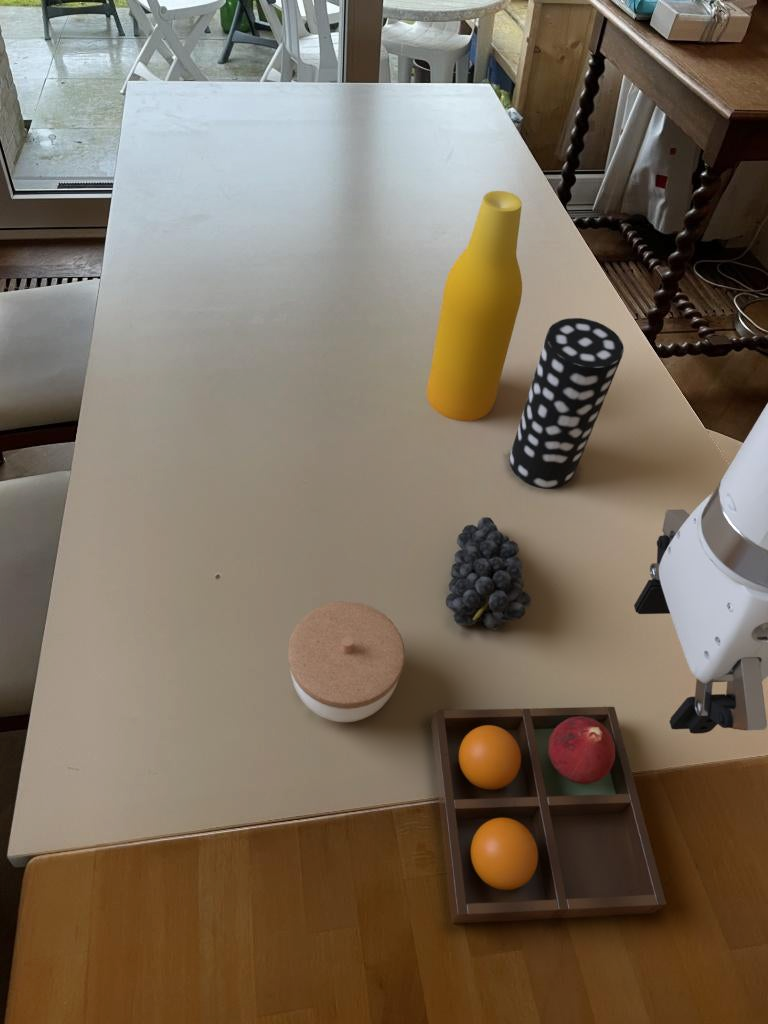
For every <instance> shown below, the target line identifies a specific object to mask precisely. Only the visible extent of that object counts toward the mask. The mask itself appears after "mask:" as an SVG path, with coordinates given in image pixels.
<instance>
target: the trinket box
mask: <svg viewBox="0 0 768 1024" xmlns="http://www.w3.org/2000/svg"><path fill="white" fill-rule="evenodd" d="M289 639H290V640H289V643H288V649H287V650H288V652H287V654H288V655H287V656H288V663H289V664H288V665H289V670H290V676H291V680H292V683H293V687H294V689H295V691H296V693H297V695H298V697H299V698H300V700H301V701H302V703H303V704H304V705H305V706H306V707H307V708H308V709H309V710H310V711H312V712H313V713H314V714H315V715H317V716H318V717H319V716H320V717H321V718H323V719H325V720H328V721H331V722H336V723H352V722H353V723H354V722H358V721H361V720H363V719H365V718H369V717H370V716H372V715H374V714H375V713H377V712H378V711H379V710H380V709H381V708H383V707H384V706H385V704H386V703H387V702H388V701H389V699H390V698H391V697H392V695H393V693H394V691H395V689H396V687H397V686H398V685H397V684H398V682H399V679H400V677H401V674H402V672H403V668H404V663H405V658H406V657H405V655H406V653H405V645H404V640H403V638H402V636H401V633H400V631H399V629H398V627H397V626H396V625H395V623H394V622H393V621H392V620H391V618H389V617H388V616H387V615H386V614H384V613H383V612H381V610H379V609H377V608H374V607H372V606H370V605H368V604H364V603H361V602H355V601H344V600H343V601H335V602H331V603H326V604H324V605H321V606H319V607H317V608H314V609H313V610H312V611H309V613H307V614H306V615H305V616H304V617H302V619H301V620H300V621H299V622H298V623H297V625H296V626H295V627H294V629H293V632H292V634H291V636H290V638H289Z"/></svg>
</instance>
